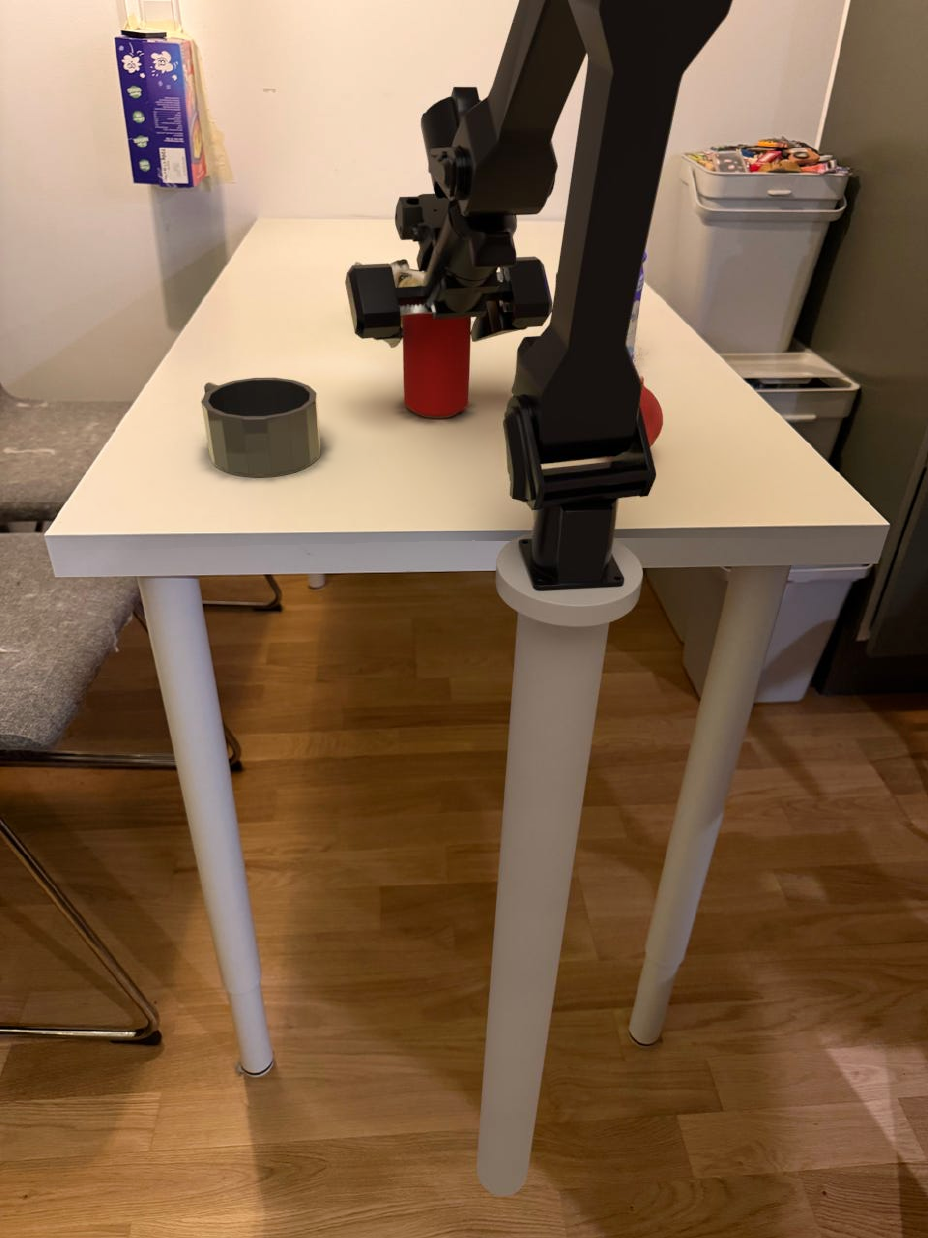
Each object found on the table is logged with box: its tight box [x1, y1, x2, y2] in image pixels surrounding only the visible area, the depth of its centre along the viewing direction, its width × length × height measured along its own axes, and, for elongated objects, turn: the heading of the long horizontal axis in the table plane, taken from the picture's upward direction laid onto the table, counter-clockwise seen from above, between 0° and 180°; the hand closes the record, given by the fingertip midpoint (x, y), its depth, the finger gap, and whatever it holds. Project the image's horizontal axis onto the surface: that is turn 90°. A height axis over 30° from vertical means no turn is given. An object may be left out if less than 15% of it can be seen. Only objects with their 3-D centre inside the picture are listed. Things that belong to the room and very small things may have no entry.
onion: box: [639, 375, 664, 447], centre depth 80 cm, size 6×6×8 cm
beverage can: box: [402, 285, 472, 419], centre depth 89 cm, size 7×7×12 cm
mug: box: [200, 377, 321, 478], centre depth 81 cm, size 13×10×6 cm
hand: (432, 340), depth 89 cm, fingers open, 8 cm apart
